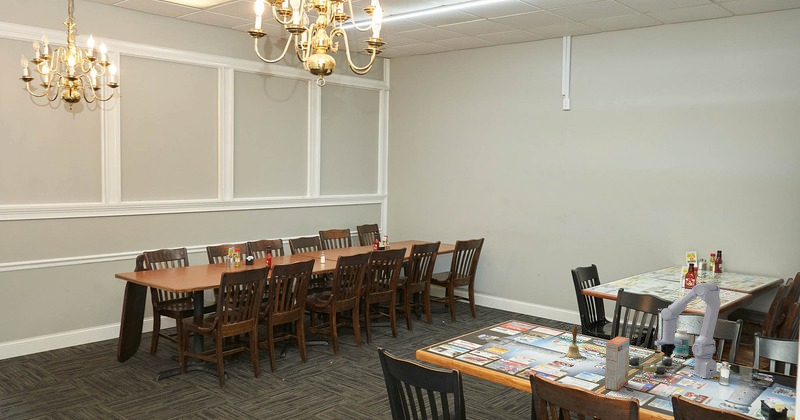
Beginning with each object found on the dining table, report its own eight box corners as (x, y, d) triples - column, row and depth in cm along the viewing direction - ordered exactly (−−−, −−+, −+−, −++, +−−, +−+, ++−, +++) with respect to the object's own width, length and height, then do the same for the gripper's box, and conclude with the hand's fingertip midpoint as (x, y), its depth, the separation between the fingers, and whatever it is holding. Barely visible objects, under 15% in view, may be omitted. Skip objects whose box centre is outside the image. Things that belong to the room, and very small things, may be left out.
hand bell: (580, 354, 334) (581, 323, 332) (583, 358, 325) (584, 327, 324) (564, 353, 334) (565, 323, 333) (566, 358, 326) (567, 327, 325)
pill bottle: (672, 355, 334) (673, 330, 333) (673, 352, 340) (674, 327, 339) (687, 358, 330) (689, 332, 329) (688, 354, 337) (690, 329, 336)
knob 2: (674, 365, 312) (674, 358, 312) (666, 366, 311) (666, 358, 311) (659, 359, 323) (660, 351, 322) (651, 359, 321) (652, 352, 321)
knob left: (660, 370, 304) (660, 363, 303) (666, 374, 299) (667, 366, 299) (640, 372, 301) (641, 364, 301) (647, 375, 296) (647, 367, 296)
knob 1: (639, 363, 315) (639, 355, 315) (638, 366, 311) (638, 358, 310) (616, 360, 319) (616, 352, 319) (615, 362, 315) (615, 355, 315)
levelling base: (690, 375, 302) (690, 370, 302) (651, 378, 297) (651, 373, 296) (662, 362, 321) (662, 358, 321) (625, 365, 316) (625, 360, 316)
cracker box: (615, 380, 293) (617, 335, 291) (628, 383, 289) (630, 338, 287) (603, 388, 282) (605, 341, 280) (617, 391, 278) (619, 344, 276)
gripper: (675, 329, 325) (674, 355, 326) (651, 330, 321) (649, 357, 322) (685, 332, 318) (684, 359, 319) (660, 334, 314) (659, 361, 315)
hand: (667, 358), depth 320 cm, fingers closed
